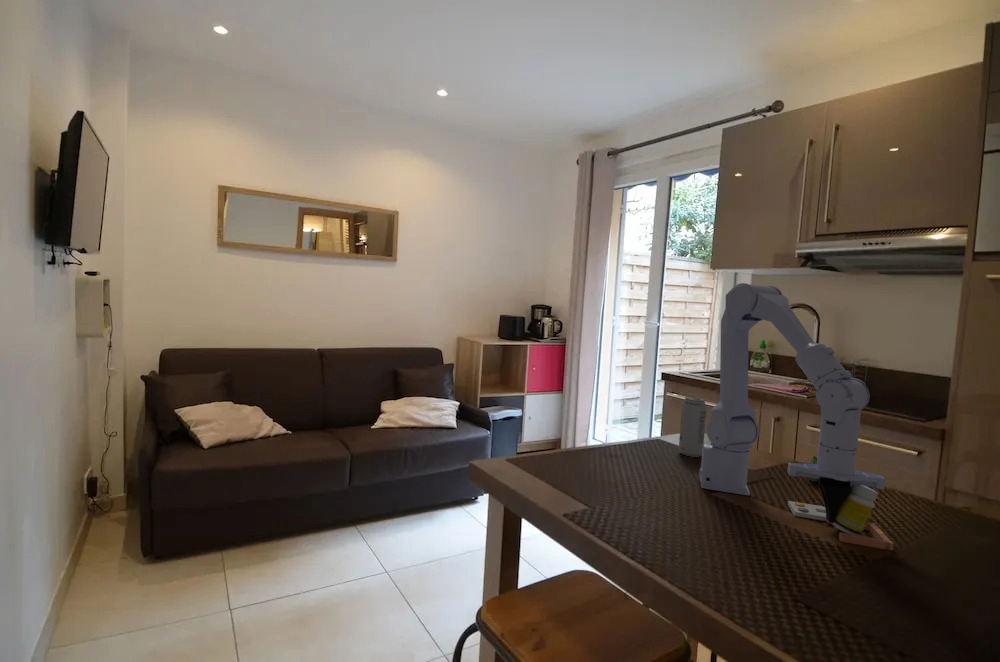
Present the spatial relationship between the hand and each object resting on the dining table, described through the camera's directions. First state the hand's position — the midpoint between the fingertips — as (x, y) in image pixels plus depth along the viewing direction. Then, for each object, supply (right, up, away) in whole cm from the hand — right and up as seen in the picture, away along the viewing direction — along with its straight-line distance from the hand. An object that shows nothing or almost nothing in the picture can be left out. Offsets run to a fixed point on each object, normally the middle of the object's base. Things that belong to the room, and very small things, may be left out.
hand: (830, 520), depth 92 cm
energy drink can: (-9, +1, +44) cm, 45 cm away
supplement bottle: (+2, -2, -1) cm, 3 cm away
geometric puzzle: (+15, -1, +26) cm, 30 cm away
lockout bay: (+4, -2, -1) cm, 5 cm away
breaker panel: (+3, -2, +7) cm, 8 cm away
